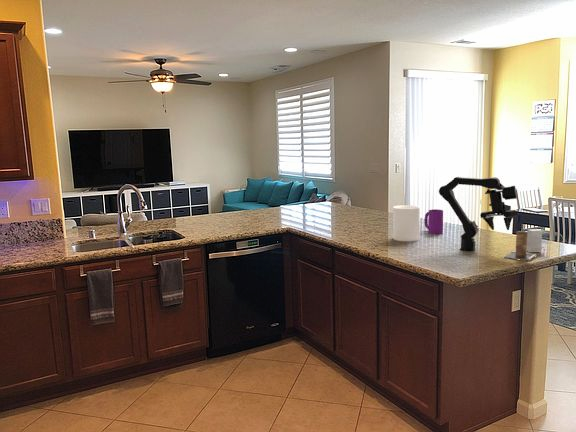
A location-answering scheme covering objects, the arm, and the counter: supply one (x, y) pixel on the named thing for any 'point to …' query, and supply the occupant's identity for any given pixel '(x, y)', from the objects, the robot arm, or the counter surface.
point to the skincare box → (534, 240)
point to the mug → (434, 221)
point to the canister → (406, 223)
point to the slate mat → (513, 254)
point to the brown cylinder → (521, 244)
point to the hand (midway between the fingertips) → (500, 229)
